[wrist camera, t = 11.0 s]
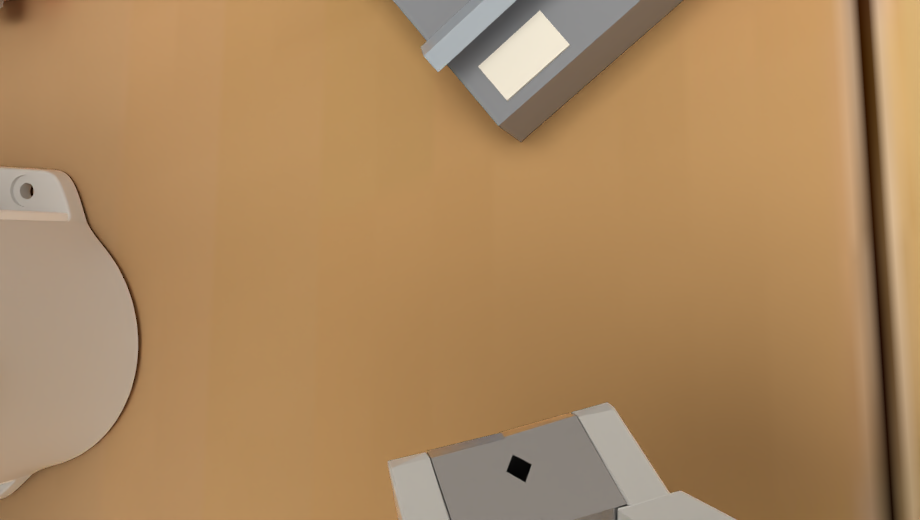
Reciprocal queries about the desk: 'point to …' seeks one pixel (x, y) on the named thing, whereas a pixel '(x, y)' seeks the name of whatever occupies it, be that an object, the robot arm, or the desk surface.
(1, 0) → the orange box
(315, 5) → the desk surface
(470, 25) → the grey bar
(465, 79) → the console
